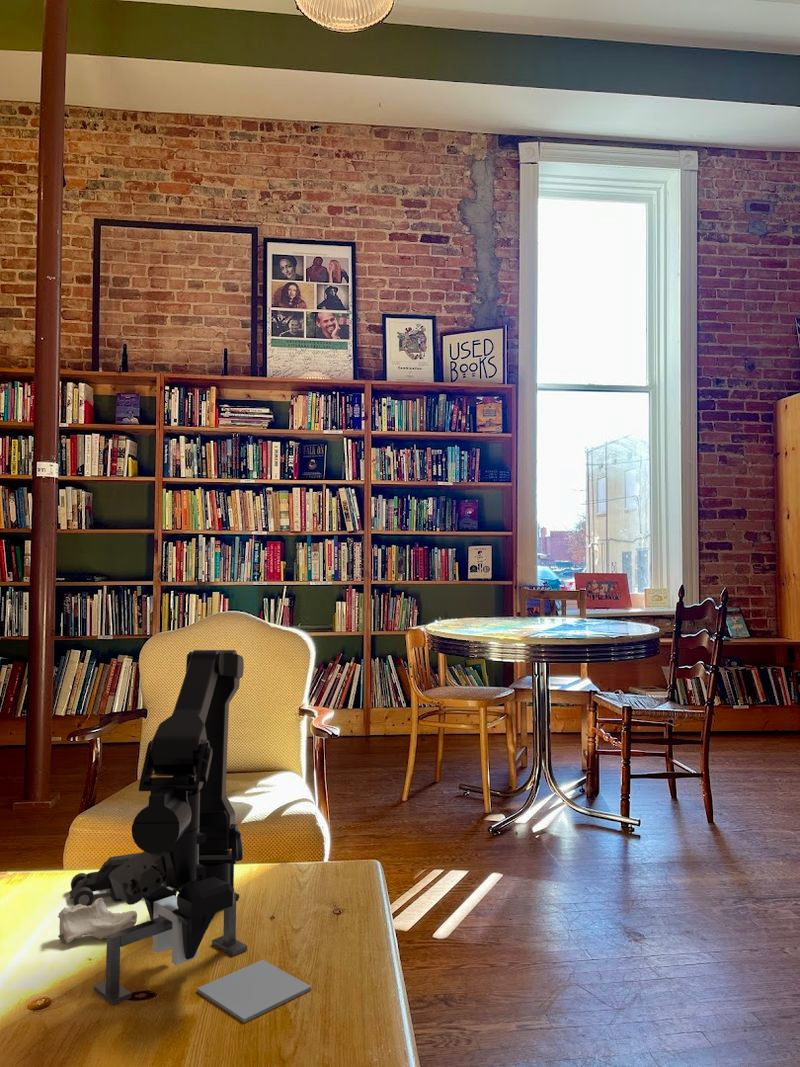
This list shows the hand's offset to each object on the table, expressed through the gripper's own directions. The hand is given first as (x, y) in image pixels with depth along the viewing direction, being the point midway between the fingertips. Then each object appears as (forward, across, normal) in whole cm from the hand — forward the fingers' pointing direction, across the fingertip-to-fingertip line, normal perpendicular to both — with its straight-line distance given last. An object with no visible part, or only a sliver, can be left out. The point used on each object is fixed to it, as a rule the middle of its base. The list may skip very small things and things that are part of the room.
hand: (174, 949), depth 101 cm
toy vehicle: (+3, -30, +7) cm, 31 cm away
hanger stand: (+2, 0, 0) cm, 2 cm away
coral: (+3, -17, -3) cm, 18 cm away
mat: (+2, +12, +4) cm, 13 cm away
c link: (0, 0, 0) cm, 0 cm away
